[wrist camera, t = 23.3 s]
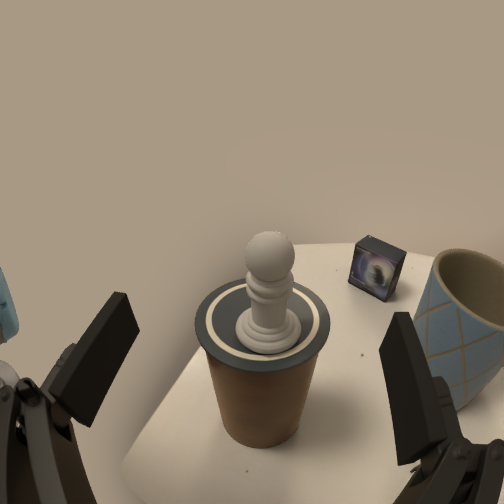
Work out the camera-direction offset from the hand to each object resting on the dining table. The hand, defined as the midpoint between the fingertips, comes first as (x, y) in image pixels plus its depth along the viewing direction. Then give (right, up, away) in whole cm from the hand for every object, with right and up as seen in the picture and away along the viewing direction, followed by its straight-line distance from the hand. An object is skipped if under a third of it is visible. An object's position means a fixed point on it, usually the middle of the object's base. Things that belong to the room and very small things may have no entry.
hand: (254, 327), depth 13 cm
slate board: (+1, -2, +12) cm, 12 cm away
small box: (+27, -5, +47) cm, 54 cm away
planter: (+32, -18, +24) cm, 44 cm away
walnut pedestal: (+1, -20, +22) cm, 29 cm away
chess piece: (+1, -3, +10) cm, 10 cm away
